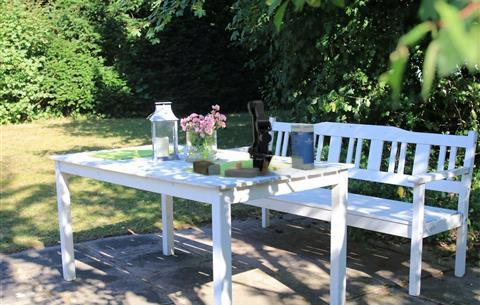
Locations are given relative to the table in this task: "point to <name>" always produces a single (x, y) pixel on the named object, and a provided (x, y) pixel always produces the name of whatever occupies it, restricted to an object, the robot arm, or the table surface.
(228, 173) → the socket block
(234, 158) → the table surface
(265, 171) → the plug
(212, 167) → the beverage carton
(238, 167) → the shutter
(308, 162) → the string lights box
